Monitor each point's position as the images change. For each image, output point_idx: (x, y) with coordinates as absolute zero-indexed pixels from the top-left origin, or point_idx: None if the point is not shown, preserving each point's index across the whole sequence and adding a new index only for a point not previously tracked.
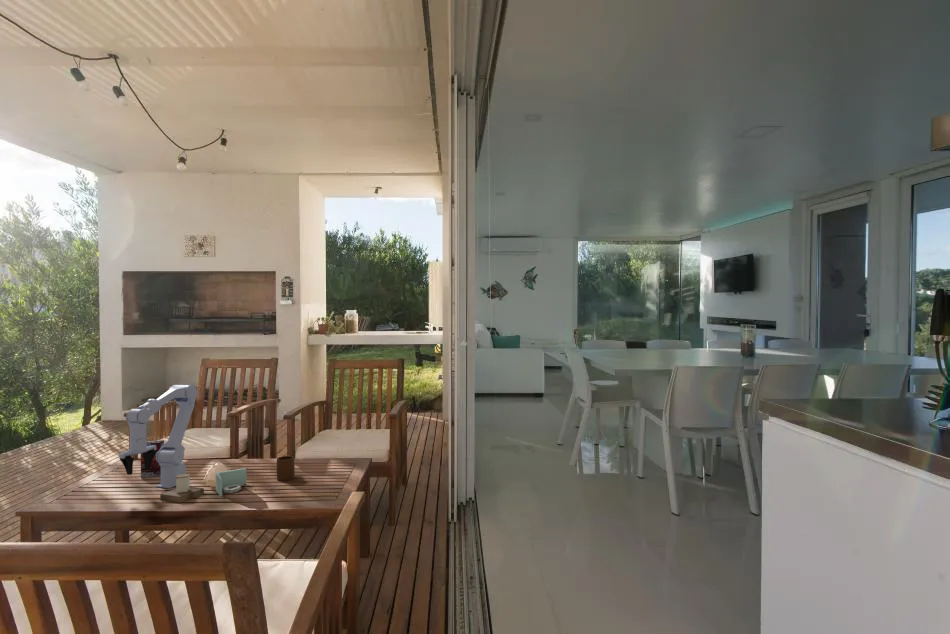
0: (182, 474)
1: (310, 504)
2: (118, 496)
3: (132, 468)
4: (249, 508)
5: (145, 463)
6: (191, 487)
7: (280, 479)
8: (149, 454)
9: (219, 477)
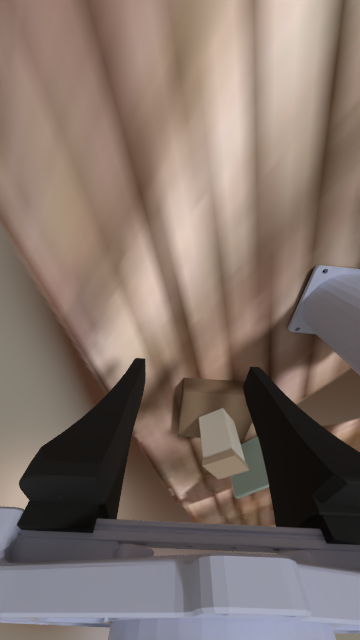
0: (237, 462)
1: (211, 521)
2: (182, 212)
3: (135, 416)
4: (182, 494)
5: (263, 399)
6: (248, 418)
7: None
8: (281, 507)
9: (251, 491)
